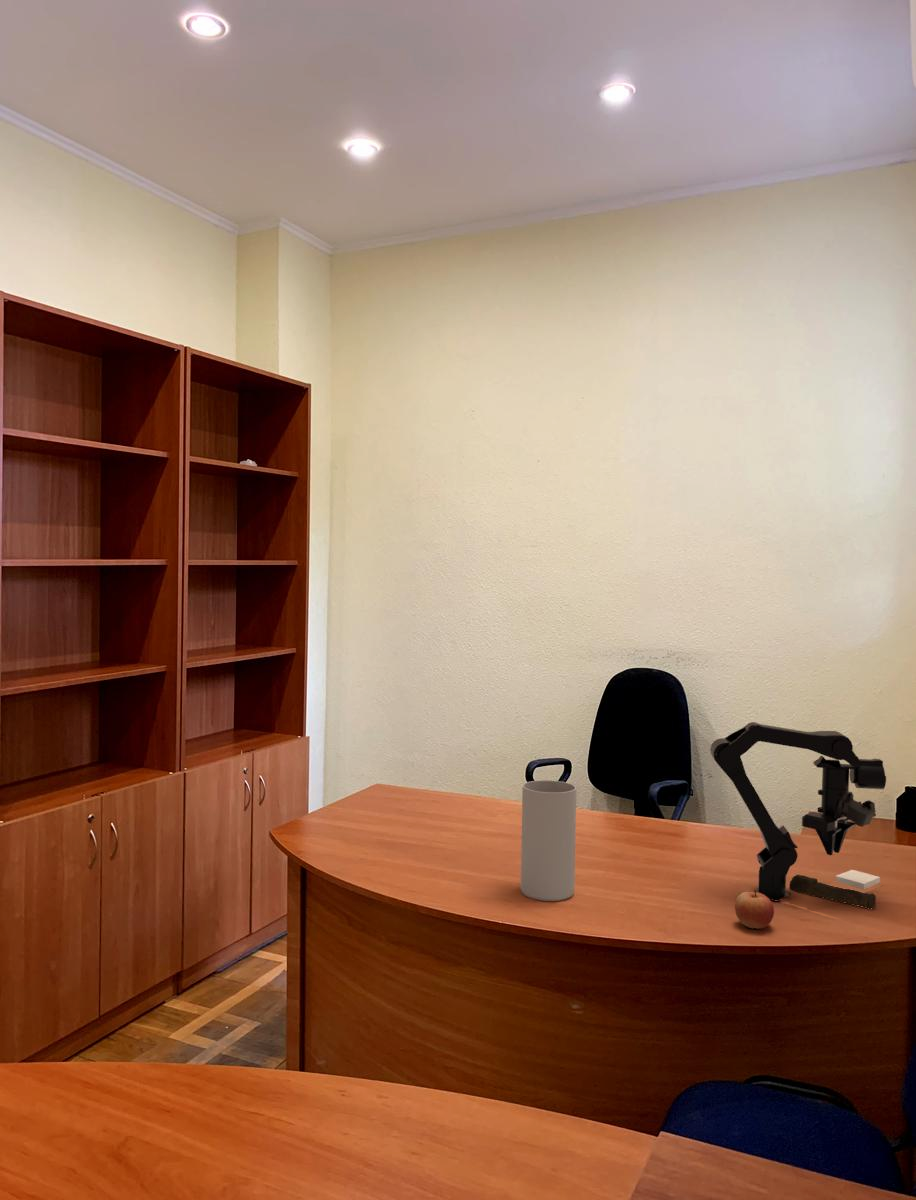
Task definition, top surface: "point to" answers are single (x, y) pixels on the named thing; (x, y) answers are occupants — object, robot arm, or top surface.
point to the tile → (857, 879)
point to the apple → (754, 909)
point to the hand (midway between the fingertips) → (833, 853)
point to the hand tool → (831, 891)
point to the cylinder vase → (548, 840)
